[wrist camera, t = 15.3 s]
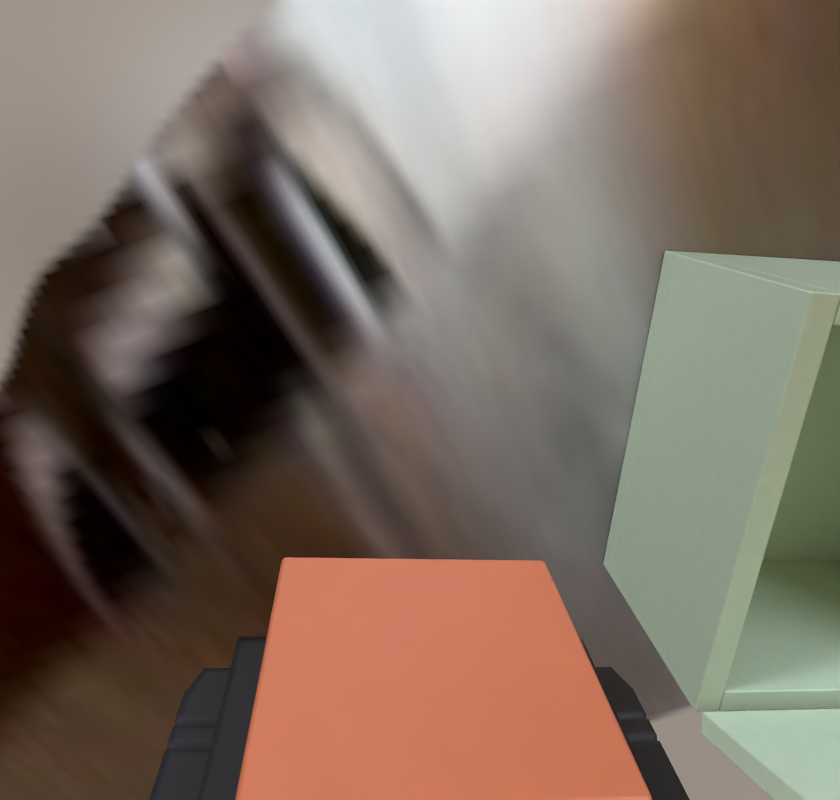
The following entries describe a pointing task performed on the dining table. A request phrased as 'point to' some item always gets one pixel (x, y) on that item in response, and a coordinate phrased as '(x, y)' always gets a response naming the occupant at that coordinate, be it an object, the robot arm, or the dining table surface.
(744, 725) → the lid
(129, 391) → the dining table surface
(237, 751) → the robot arm
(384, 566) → the block
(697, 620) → the chest
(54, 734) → the dining table surface
